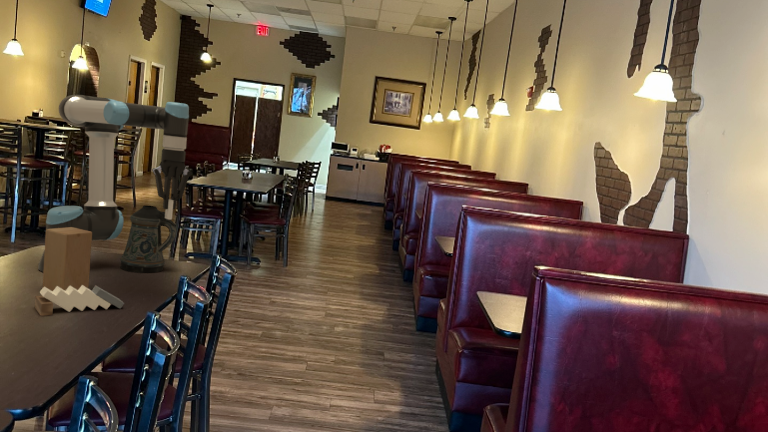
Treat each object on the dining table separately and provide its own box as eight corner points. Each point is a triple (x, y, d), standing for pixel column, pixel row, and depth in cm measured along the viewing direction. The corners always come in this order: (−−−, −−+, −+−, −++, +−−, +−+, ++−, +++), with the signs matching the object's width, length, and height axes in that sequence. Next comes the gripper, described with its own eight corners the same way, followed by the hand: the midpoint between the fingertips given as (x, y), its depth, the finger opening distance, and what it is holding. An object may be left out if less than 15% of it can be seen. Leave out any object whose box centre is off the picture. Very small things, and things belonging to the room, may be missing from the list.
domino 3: (94, 300, 200) (69, 285, 195) (98, 304, 196) (73, 289, 191) (90, 305, 200) (65, 290, 195) (94, 310, 196) (69, 295, 191)
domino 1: (70, 301, 196) (44, 286, 191) (74, 306, 192) (47, 290, 187) (65, 307, 195) (39, 292, 190) (69, 312, 191) (42, 296, 186)
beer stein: (119, 263, 260) (123, 201, 257) (169, 264, 268) (174, 205, 265) (120, 272, 245) (125, 207, 242) (174, 273, 253) (179, 210, 250)
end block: (45, 306, 194) (46, 295, 193) (52, 315, 187) (53, 303, 186) (34, 307, 192) (35, 295, 192) (40, 315, 185) (41, 303, 185)
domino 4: (106, 299, 202) (82, 284, 197) (110, 304, 199) (86, 288, 193) (102, 305, 202) (77, 290, 197) (106, 309, 198) (81, 294, 193)
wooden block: (88, 290, 216) (92, 231, 214) (62, 295, 207) (66, 234, 205) (68, 284, 221) (71, 226, 218) (41, 289, 211) (45, 228, 209)
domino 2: (82, 301, 198) (57, 285, 193) (86, 305, 194) (60, 290, 189) (78, 306, 198) (52, 291, 192) (82, 311, 194) (56, 295, 189)
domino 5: (119, 299, 205) (95, 285, 200) (124, 303, 201) (99, 289, 196) (115, 304, 204) (91, 290, 199) (120, 308, 200) (95, 294, 195)
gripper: (188, 149, 223) (183, 217, 226) (150, 146, 215) (145, 216, 218) (197, 151, 217) (191, 220, 220) (158, 148, 209) (152, 220, 212)
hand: (168, 218), depth 219 cm, fingers closed
